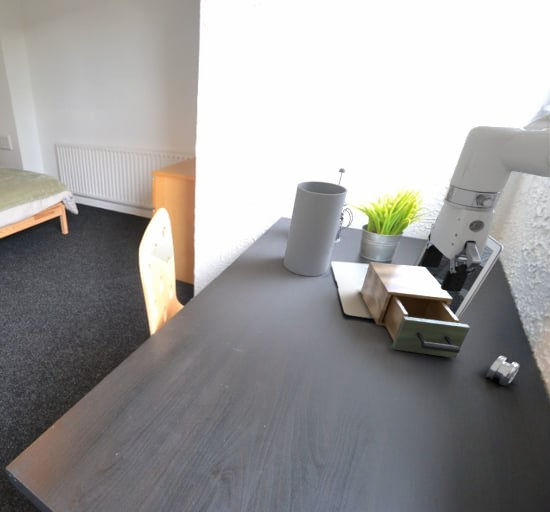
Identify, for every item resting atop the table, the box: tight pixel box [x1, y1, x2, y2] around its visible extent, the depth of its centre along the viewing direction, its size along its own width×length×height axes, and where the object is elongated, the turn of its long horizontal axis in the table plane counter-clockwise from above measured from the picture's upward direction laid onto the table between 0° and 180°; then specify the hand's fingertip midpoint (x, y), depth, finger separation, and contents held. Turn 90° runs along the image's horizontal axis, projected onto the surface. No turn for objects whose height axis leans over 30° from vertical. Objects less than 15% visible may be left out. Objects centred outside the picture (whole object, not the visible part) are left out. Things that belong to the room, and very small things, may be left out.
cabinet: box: [360, 261, 454, 327], centre depth 89 cm, size 15×13×10 cm
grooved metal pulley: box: [485, 355, 521, 386], centre depth 70 cm, size 5×3×5 cm, turn 120°
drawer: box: [382, 295, 471, 359], centre depth 79 cm, size 18×11×8 cm, turn 166°
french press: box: [334, 167, 354, 244], centre depth 124 cm, size 10×12×25 cm
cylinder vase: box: [283, 180, 348, 277], centre depth 106 cm, size 12×12×25 cm
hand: (439, 277), depth 75 cm, fingers open, 9 cm apart
